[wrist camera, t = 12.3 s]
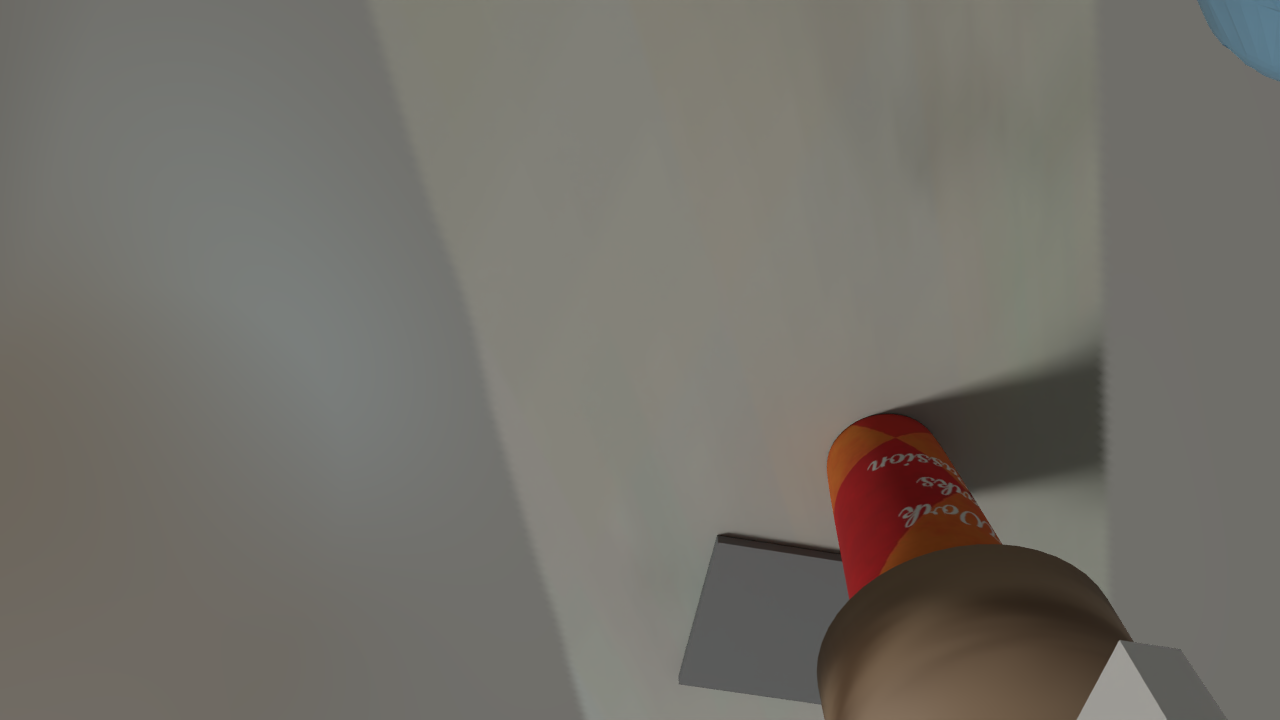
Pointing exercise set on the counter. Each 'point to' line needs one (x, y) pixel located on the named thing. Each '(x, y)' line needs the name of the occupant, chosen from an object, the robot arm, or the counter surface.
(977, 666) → the lid
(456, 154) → the counter surface
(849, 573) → the paper cup
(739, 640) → the mat
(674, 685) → the counter surface
